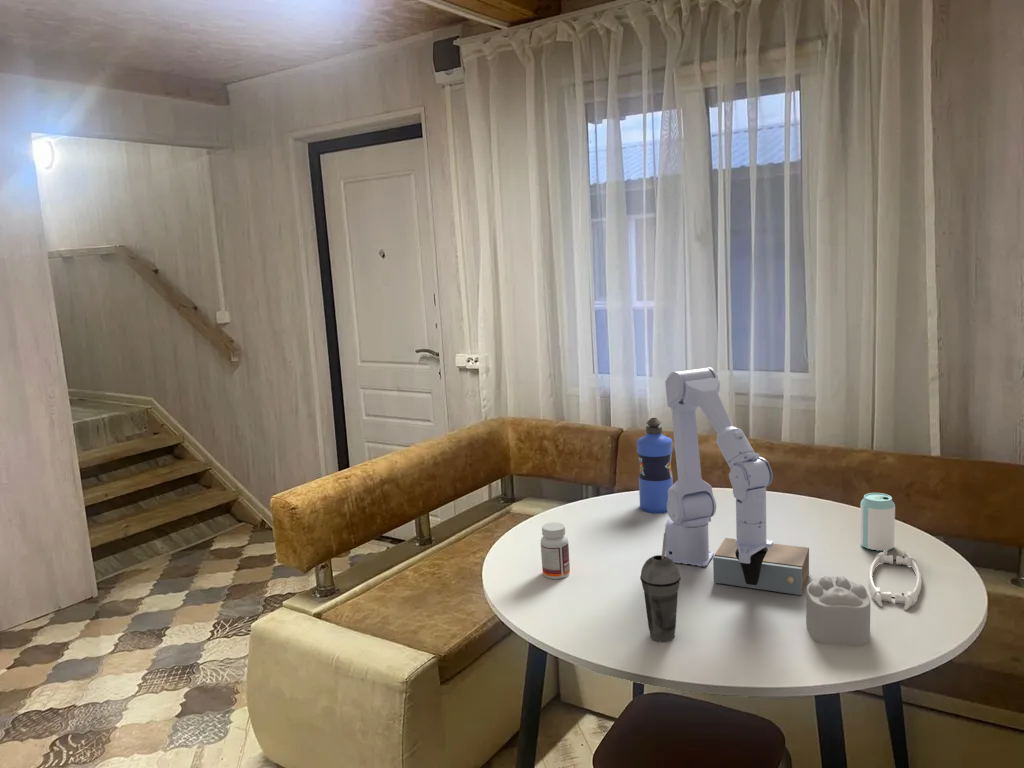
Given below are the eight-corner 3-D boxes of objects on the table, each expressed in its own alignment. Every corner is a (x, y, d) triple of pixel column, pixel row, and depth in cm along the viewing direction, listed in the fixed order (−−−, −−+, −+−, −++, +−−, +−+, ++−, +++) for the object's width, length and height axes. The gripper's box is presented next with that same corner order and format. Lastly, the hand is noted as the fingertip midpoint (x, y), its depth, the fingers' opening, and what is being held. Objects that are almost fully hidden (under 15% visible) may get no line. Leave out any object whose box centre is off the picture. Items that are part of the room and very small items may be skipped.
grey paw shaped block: (811, 643, 138) (811, 598, 136) (801, 609, 150) (801, 567, 149) (874, 647, 135) (875, 601, 134) (859, 612, 148) (860, 569, 146)
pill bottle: (563, 566, 177) (560, 519, 175) (574, 576, 172) (571, 528, 170) (538, 571, 175) (535, 524, 173) (549, 582, 170) (546, 533, 168)
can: (877, 538, 181) (878, 489, 179) (901, 549, 174) (902, 498, 172) (853, 544, 179) (853, 494, 176) (876, 555, 172) (877, 503, 170)
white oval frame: (921, 563, 168) (922, 614, 146) (871, 557, 172) (864, 606, 150) (921, 551, 167) (922, 601, 145) (871, 546, 172) (864, 593, 150)
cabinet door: (712, 584, 163) (712, 559, 162) (714, 580, 164) (714, 555, 163) (800, 597, 154) (800, 570, 153) (801, 593, 156) (801, 567, 155)
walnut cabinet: (715, 581, 164) (714, 554, 163) (725, 563, 173) (725, 537, 172) (802, 594, 156) (802, 566, 155) (808, 574, 165) (809, 547, 164)
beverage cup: (638, 628, 147) (634, 528, 143) (675, 624, 148) (672, 524, 144) (648, 647, 140) (644, 543, 136) (687, 643, 140) (684, 539, 137)
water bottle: (639, 513, 207) (635, 423, 203) (639, 502, 216) (636, 415, 212) (674, 513, 206) (672, 422, 201) (673, 501, 215) (670, 414, 210)
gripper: (765, 534, 145) (766, 601, 148) (778, 509, 158) (778, 571, 160) (727, 530, 149) (728, 596, 151) (742, 505, 161) (743, 567, 164)
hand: (752, 583), depth 156 cm, fingers closed
